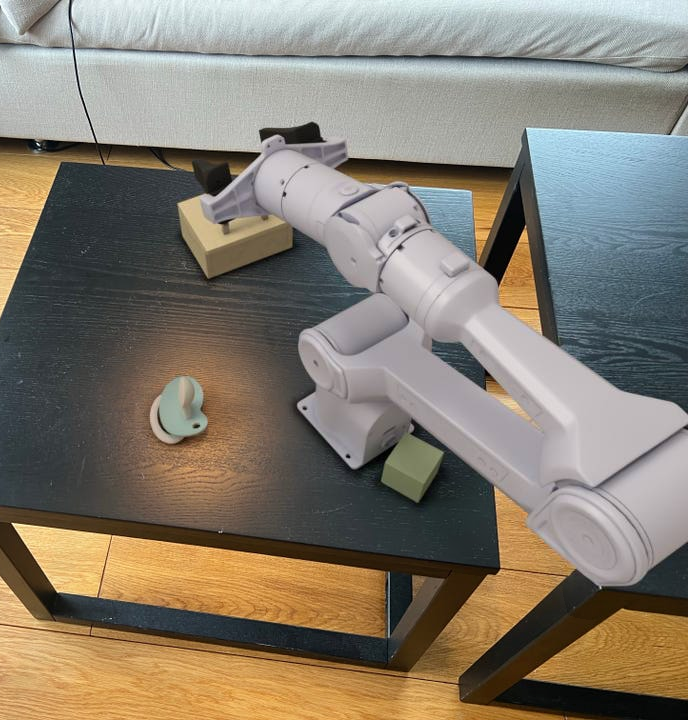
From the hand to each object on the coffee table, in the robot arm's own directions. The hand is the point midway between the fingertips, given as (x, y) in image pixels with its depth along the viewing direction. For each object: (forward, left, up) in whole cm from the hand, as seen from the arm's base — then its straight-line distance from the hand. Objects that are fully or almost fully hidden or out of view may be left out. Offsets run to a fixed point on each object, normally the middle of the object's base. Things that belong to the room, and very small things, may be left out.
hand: (230, 153), depth 74 cm
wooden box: (+7, -4, -20) cm, 22 cm away
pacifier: (-11, +16, -20) cm, 28 cm away
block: (-30, +1, -20) cm, 36 cm away
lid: (+7, -4, -15) cm, 17 cm away
